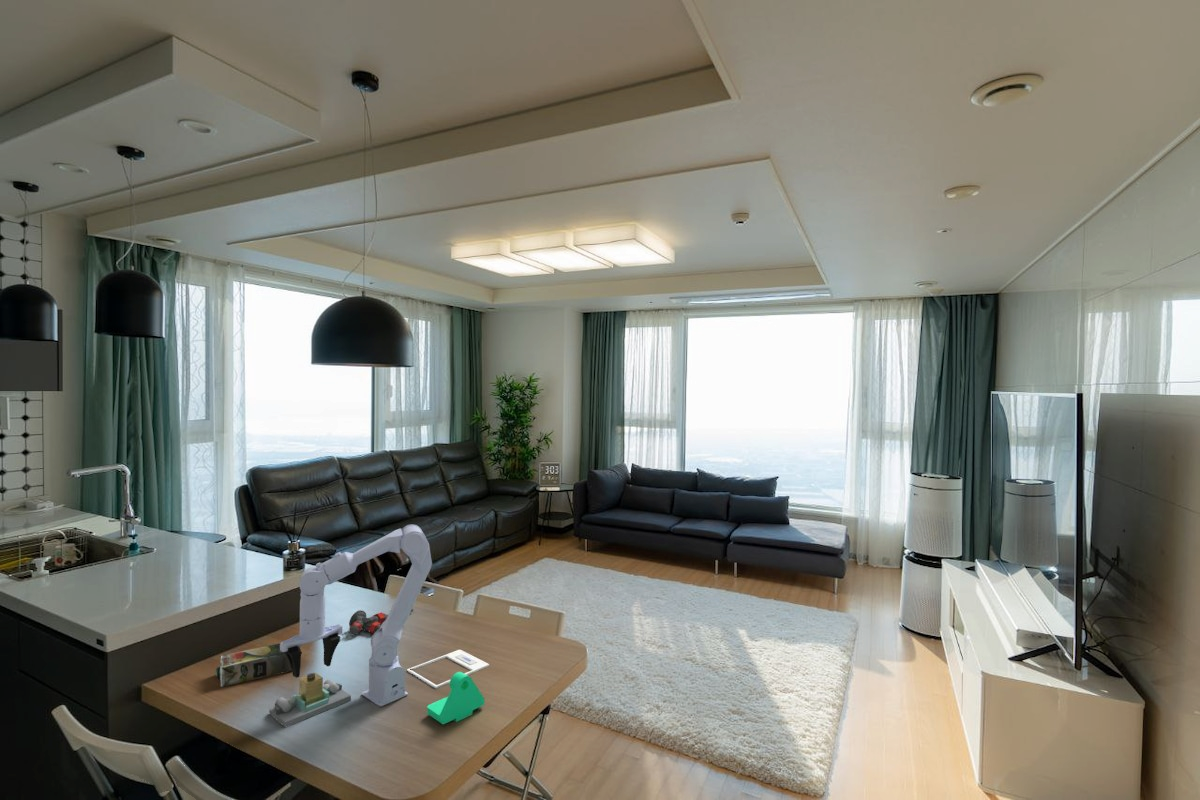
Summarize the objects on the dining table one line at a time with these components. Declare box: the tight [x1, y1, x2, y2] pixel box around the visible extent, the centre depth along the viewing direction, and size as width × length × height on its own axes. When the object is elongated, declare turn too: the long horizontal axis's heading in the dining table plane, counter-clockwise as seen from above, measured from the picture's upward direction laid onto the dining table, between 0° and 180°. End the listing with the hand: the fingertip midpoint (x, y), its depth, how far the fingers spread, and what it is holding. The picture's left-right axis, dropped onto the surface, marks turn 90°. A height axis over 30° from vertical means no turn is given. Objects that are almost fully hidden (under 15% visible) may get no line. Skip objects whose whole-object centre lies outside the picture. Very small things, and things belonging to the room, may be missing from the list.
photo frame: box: [406, 649, 490, 689], centre depth 165 cm, size 15×1×18 cm
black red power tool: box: [348, 608, 414, 636], centre depth 195 cm, size 6×26×15 cm
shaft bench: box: [268, 679, 352, 728], centre depth 143 cm, size 9×16×4 cm, turn 141°
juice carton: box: [215, 643, 302, 687], centre depth 161 cm, size 20×10×6 cm, turn 125°
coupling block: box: [298, 672, 324, 707], centre depth 143 cm, size 4×4×7 cm
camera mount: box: [426, 671, 485, 725], centre depth 142 cm, size 12×8×10 cm, turn 139°
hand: (311, 670), depth 143 cm, fingers open, 7 cm apart
